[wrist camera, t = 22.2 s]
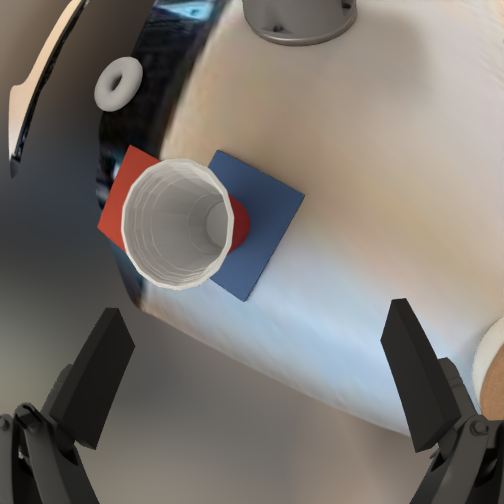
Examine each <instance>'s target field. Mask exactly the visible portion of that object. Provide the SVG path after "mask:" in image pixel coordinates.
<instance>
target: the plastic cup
mask: <svg viewBox="0 0 504 504" xmlns="http://www.w3.org/2000/svg"><path fill="white" fill-rule="evenodd" d="M249 230H250V219H249V215H248V212H247V211H246V209H245V208H244V207H243V205H242V204H241V203H240V202H238V201H237V200H236V199H235V198H234V197H233V196H231V195H230V194H229V193H228V192H227V190H226V189H225V187H224V186H223V185H222V183H221V182H220V181H219V180H218V178H217V177H216V176H215V175H214V173H213V172H212V171H211V170H210V169H209V168H207V167H205V166H203V165H201V164H199V163H197V162H195V161H193V160H190V159H166V160H163V161H161V162H159V163H157V164H155V165H153V166H151V167H149V168H147V169H146V170H145V171H144V172H143V173H142V174H141V175H140V177H139V178H138V179H137V180H136V181H135V182H134V183H133V184H132V186H131V188H130V190H129V193H128V195H127V198H126V200H125V203H124V205H123V210H122V223H121V233H122V237H123V241H124V245H125V249H126V253H127V255H128V257H129V258H130V260H131V261H132V263H133V264H134V266H135V268H136V269H137V271H138V272H139V273H140V274H141V275H142V276H144V277H145V278H146V279H148V280H149V281H151V282H152V283H153V284H155V285H156V286H159V287H163V288H168V289H172V290H177V291H179V290H183V289H187V288H191V287H196V286H200V285H201V284H202V283H203V282H205V281H206V280H207V279H208V278H209V277H211V276H212V275H213V274H214V273H216V272H217V271H218V270H219V268H220V267H221V265H222V263H223V261H224V259H225V257H226V256H227V255H228V254H230V253H231V252H232V251H233V250H235V249H236V248H237V247H239V246H240V245H241V244H242V243H243V242H244V241H245V239H246V237H247V235H248V234H249Z"/></svg>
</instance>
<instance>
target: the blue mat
mask: <svg viewBox="0 0 504 504" xmlns="http://www.w3.org/2000/svg"><path fill="white" fill-rule="evenodd" d="M208 168H209V169H210V170H211V171H212V172H213V173H214V175H215V176H216V177H217V178H218V180H219V181H220V182H221V183H222V185H223V186H224V187H225V189H226V190H227V192H228V193H229V194H230V195H231V196H233V197H234V198H235V199H236V200H237V201H238V202H240V203H241V204H242V205H243V207H244V208H245V209H246V211H247V212H248V215H249V219H250V230H249V234H248V235H247V237H246V239H245V241H244V242H243V243H242V244H241V245H240V246H239V247H237V248H236V249H235V250H233V251H232V252H231V253H230V254H228V255H227V256H226V257H225V259H224V261H223V263H222V265H221V267H220V268H219V270H218V271H217V272H216V273H214V274H213V275H212V276H211V277H209V278H210V279H211V280H213V281H214V282H215V283H217V284H218V285H220V286H221V287H223V288H224V289H226V290H227V291H228V292H230V293H231V294H233V295H234V296H236V297H237V298H239V299H240V300H241V301H243V302H245V301H246V299H247V298H248V296H249V294H250V292H251V291H252V289H253V287H254V285H255V284H256V282H257V280H258V278H259V277H260V275H261V273H262V271H263V270H264V268H265V266H266V264H267V263H268V261H269V259H270V257H271V256H272V254H273V252H274V250H275V249H276V247H277V245H278V243H279V242H280V240H281V238H282V236H283V234H284V233H285V231H286V229H287V227H288V226H289V224H290V222H291V220H292V218H293V217H294V215H295V213H296V211H297V209H298V208H299V206H300V204H301V202H302V200H303V199H304V197H305V195H304V194H302V193H300V192H299V191H297V190H295V189H293V188H291V187H289V186H288V185H286V184H284V183H282V182H280V181H278V180H276V179H274V178H273V177H271V176H269V175H267V174H265V173H263V172H261V171H259V170H257V169H255V168H253V167H251V166H249V165H247V164H245V163H243V162H241V161H239V160H237V159H235V158H233V157H231V156H229V155H227V154H225V153H223V152H221V151H219V150H217V151H216V153H215V155H214V157H213V159H212V161H211V163H210V165H209V167H208Z"/></svg>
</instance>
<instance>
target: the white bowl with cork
mask: <svg viewBox="0 0 504 504" xmlns="http://www.w3.org/2000/svg"><path fill="white" fill-rule="evenodd" d="M471 379H472V386H473V391H474V395H475V398H476V401H477V403H478V405H479V407H480V409H481V413H482V415H483V416H484V417H486V418H487V419H488V420H491V421H492V420H504V316H503V317H502V318H500V319H499V320H498V321H497V322H495V323H494V324H493V325H492V326H491V327H490V328H489V330H488V331H487V332H486V333H485V335H484V336H483V338H482V339H481V341H480V343H479V345H478V348H477V350H476V353H475V356H474V359H473V364H472V378H471Z"/></svg>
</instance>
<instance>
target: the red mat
mask: <svg viewBox="0 0 504 504" xmlns="http://www.w3.org/2000/svg"><path fill="white" fill-rule="evenodd" d="M159 162H161V161H160V160H158V159H156V158H154V157H153V156H151V155H149V154H147V153H145V152H143V151H141V150H139V149H138V148H136V147H134V146H132V145H130V146H129V148H128V150H127V153H126V155H125V157H124V159H123V162H122V164H121V166H120V169H119V171H118V173H117V176H116V178H115V181H114V183H113V186H112V188H111V191H110V194H109V196H108V199H107V202H106V204H105V207H104V210H103V213H102V215H101V218H100V221H99V224H98V229H100V230H101V231H102V232H103V233H104V234H105V235H106V236H107V237H109V238H110V239H111V240H112V241H113V242H114V243H115V244H116V245H118V246H119V247H120V248H121V249H122V250H123V251H125V252H126V249H125V245H124V241H123V237H122V233H121V223H122V210H123V205H124V203H125V200H126V198H127V195H128V193H129V190H130V188H131V186H132V184H133V183H134V182H135V181H136V180H137V179H138V178H139V177H140V175H141V174H142V173H143V172H144V171H145V170H146V169H147V168H149V167H151V166H153V165H155V164H157V163H159Z"/></svg>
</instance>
